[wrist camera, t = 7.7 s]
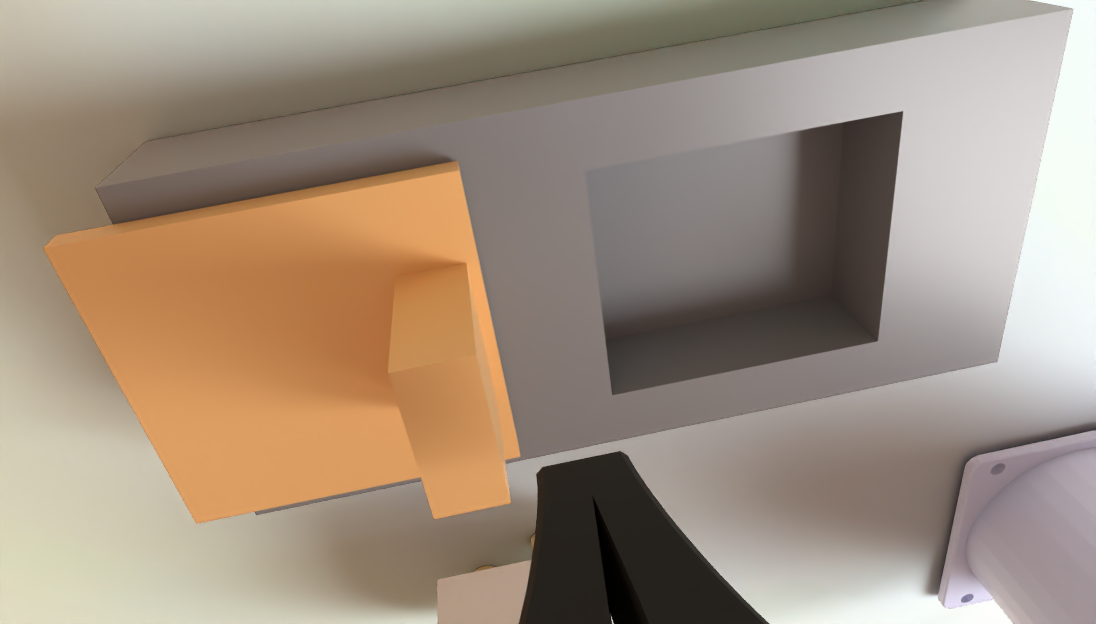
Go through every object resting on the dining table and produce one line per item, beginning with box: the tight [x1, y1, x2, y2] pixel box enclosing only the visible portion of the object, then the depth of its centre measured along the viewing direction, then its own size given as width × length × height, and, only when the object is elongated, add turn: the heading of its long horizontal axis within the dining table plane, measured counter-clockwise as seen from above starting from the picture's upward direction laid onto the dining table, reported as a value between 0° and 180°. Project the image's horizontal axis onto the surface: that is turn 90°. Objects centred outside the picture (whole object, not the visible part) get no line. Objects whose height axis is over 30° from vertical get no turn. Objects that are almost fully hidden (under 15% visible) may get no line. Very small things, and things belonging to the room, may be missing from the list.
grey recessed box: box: [95, 0, 1073, 515], centre depth 18 cm, size 20×9×3 cm, turn 98°
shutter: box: [43, 161, 521, 524], centre depth 15 cm, size 8×8×4 cm
